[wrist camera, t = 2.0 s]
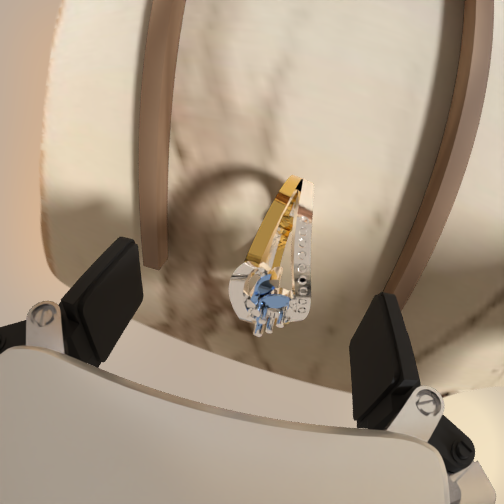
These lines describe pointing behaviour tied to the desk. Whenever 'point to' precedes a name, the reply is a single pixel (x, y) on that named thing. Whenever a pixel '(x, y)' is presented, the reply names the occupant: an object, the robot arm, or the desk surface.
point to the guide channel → (441, 182)
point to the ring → (277, 262)
